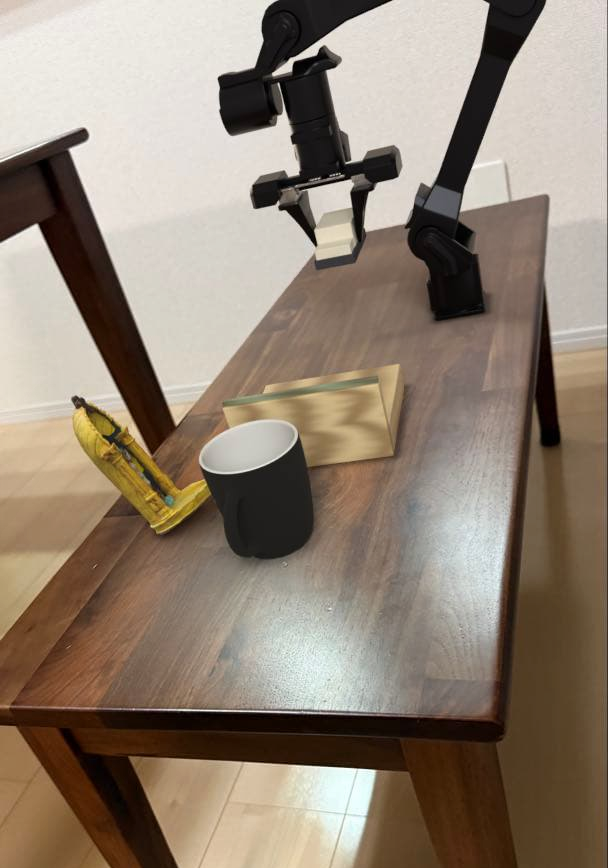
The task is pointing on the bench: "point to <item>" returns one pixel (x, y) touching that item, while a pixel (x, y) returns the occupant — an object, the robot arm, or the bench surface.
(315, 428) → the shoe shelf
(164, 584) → the bench surface
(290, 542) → the mug
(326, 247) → the cream stepped block
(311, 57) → the robot arm
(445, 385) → the bench surface
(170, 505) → the shrine
